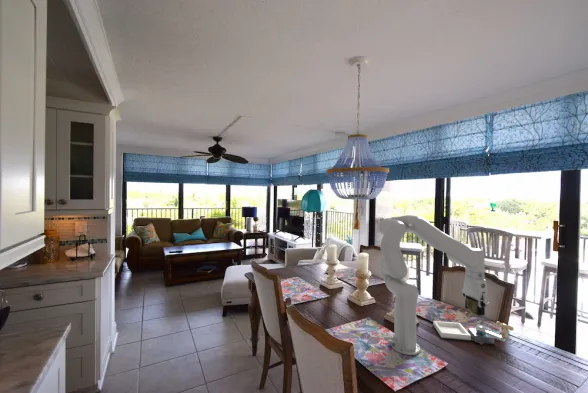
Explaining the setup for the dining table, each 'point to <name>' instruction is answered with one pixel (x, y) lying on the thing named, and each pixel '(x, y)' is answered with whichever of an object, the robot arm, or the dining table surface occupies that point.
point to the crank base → (480, 337)
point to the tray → (451, 330)
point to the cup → (472, 305)
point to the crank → (500, 337)
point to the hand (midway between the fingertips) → (474, 311)
